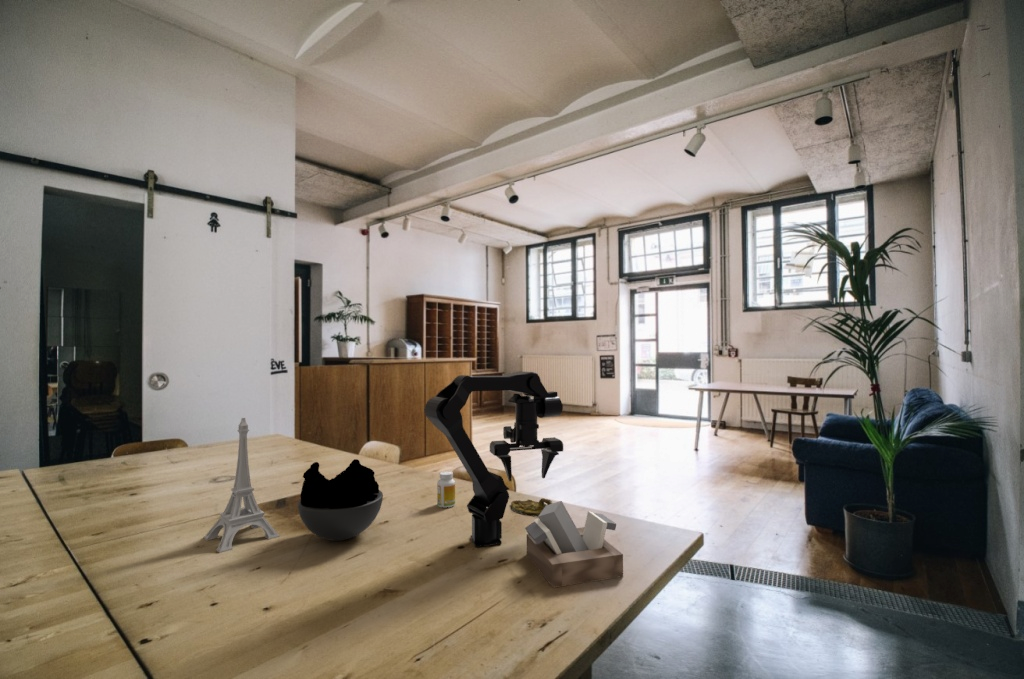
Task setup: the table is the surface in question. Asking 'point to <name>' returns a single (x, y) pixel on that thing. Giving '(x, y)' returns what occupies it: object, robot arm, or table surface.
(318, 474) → the coal bowl
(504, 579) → the table surface
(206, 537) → the eiffel tower
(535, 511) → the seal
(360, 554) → the table surface
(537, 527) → the near trapdoor leaf
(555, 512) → the grey stone block
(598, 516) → the panel
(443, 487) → the supplement bottle
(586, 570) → the box
